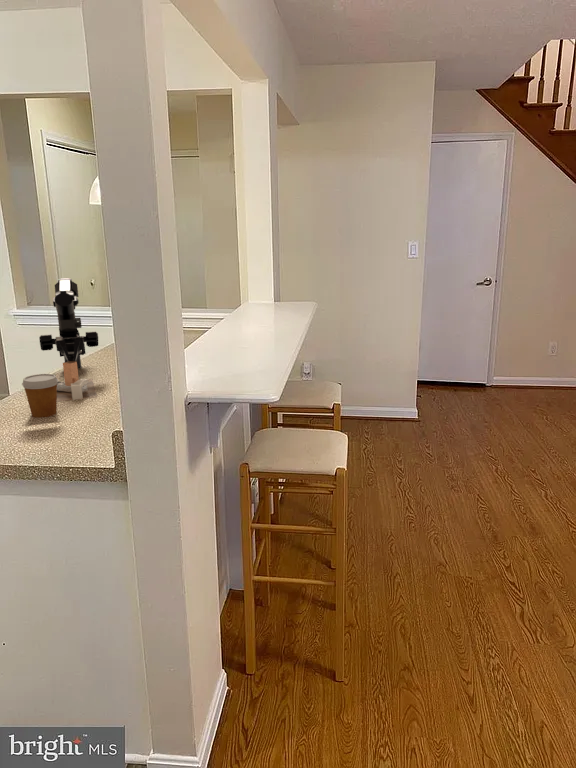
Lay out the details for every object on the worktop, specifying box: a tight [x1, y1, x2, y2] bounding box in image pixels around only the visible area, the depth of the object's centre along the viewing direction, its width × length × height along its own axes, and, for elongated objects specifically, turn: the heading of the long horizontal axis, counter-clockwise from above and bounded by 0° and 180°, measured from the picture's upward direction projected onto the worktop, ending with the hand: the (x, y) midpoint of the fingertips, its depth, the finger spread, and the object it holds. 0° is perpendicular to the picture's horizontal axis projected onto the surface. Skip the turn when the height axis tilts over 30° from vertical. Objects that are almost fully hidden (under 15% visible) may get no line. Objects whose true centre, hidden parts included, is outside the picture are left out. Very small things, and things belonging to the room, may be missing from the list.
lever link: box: [57, 361, 87, 393], centre depth 186 cm, size 4×14×10 cm, turn 70°
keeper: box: [71, 378, 89, 401], centre depth 183 cm, size 8×5×4 cm
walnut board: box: [57, 378, 98, 403], centre depth 189 cm, size 24×15×1 cm, turn 22°
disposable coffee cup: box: [21, 373, 59, 419], centre depth 165 cm, size 10×10×12 cm
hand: (72, 361), depth 194 cm, fingers closed
